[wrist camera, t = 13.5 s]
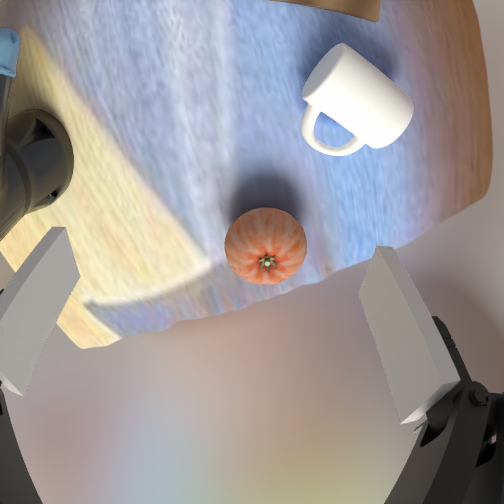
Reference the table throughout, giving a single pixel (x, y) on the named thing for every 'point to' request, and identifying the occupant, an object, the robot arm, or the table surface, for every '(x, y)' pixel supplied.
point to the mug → (354, 101)
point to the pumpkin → (265, 245)
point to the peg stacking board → (345, 7)
